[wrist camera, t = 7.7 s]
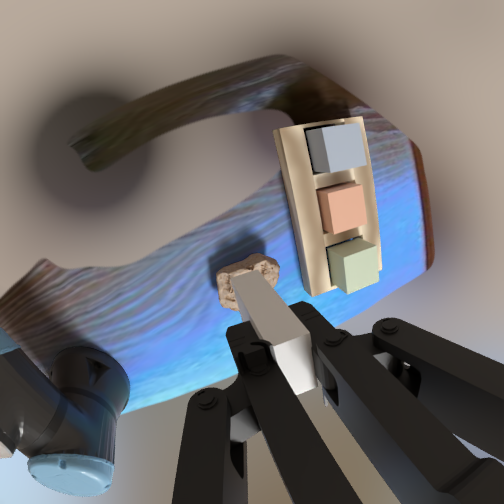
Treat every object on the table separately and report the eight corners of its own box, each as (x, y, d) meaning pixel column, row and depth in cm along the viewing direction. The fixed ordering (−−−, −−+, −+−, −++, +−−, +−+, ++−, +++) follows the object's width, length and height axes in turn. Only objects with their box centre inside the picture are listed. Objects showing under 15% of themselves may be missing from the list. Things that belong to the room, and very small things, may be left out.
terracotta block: (318, 227, 47) (333, 234, 43) (311, 190, 45) (327, 193, 41) (350, 217, 48) (367, 223, 44) (344, 181, 46) (362, 184, 42)
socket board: (304, 289, 50) (312, 297, 48) (272, 130, 42) (279, 128, 39) (372, 264, 53) (382, 269, 50) (351, 118, 44) (362, 116, 41)
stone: (271, 248, 47) (282, 258, 42) (271, 314, 50) (280, 329, 46) (213, 253, 45) (218, 264, 40) (218, 321, 48) (223, 337, 44)
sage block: (331, 282, 48) (347, 294, 44) (327, 248, 46) (343, 257, 42) (361, 270, 49) (379, 281, 45) (358, 237, 47) (376, 245, 43)
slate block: (313, 171, 42) (330, 173, 38) (305, 130, 40) (321, 127, 36) (348, 163, 43) (366, 165, 39) (340, 125, 42) (359, 122, 37)
